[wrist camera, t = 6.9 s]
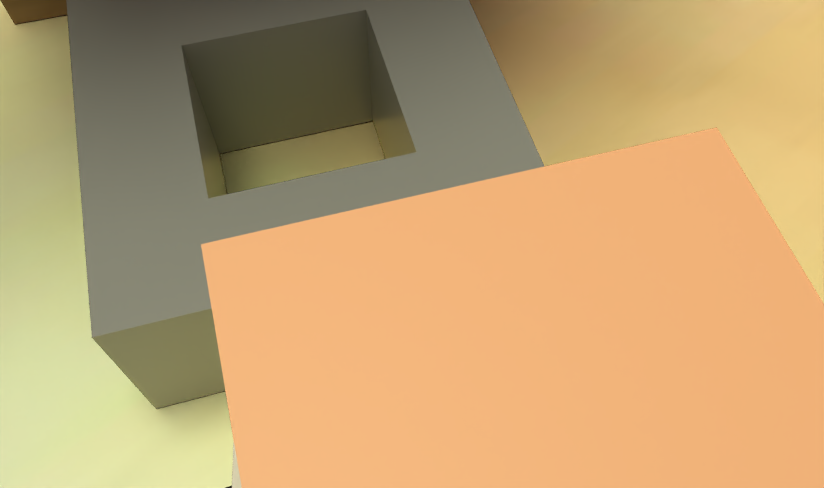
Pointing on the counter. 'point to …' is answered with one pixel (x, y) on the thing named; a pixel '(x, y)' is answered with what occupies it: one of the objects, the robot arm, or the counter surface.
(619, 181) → the peg
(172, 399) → the socket
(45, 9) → the wooden l-shaped bracket
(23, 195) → the counter surface
